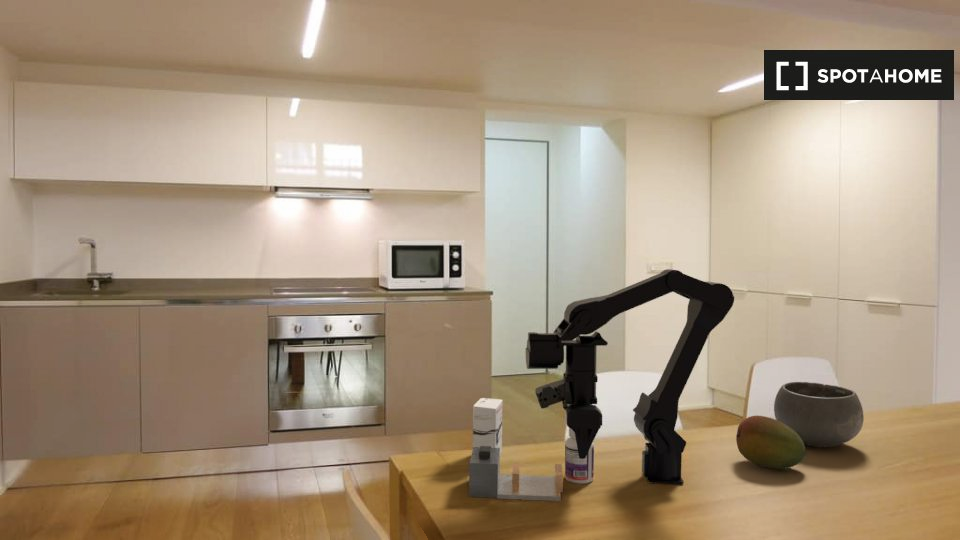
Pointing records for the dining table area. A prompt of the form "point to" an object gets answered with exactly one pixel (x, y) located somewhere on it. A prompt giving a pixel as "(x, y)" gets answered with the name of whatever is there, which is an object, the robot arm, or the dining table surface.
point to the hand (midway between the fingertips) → (580, 450)
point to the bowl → (819, 412)
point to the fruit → (769, 443)
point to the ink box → (487, 423)
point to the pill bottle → (578, 462)
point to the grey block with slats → (509, 479)
